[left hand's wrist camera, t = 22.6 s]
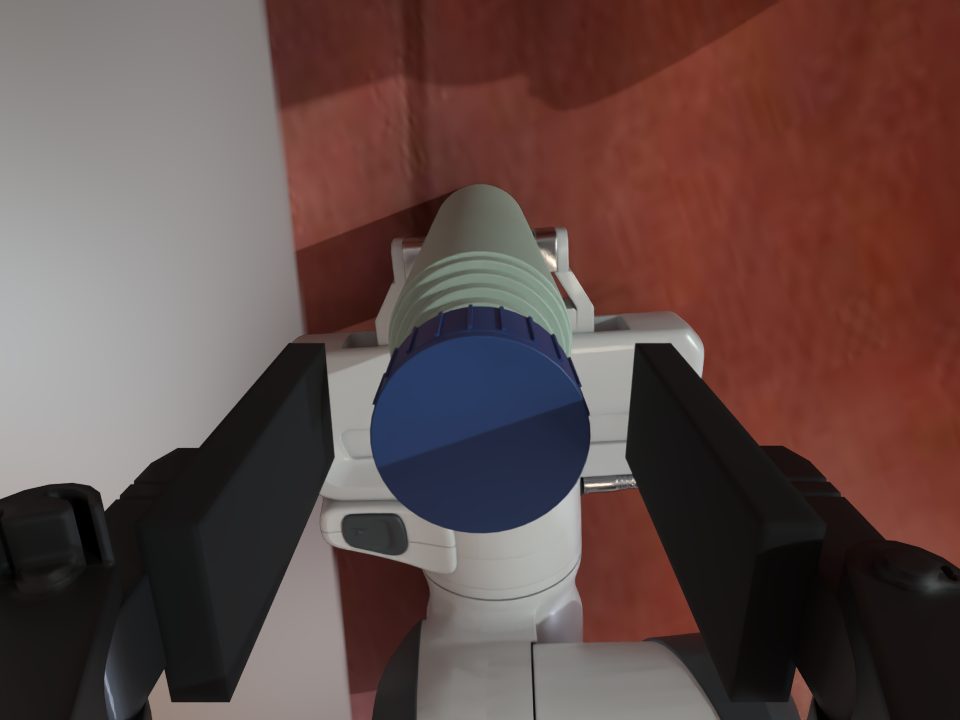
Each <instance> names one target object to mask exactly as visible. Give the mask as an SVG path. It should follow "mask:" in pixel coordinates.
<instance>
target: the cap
mask: <svg viewBox="0 0 960 720" xmlns="http://www.w3.org/2000/svg"><path fill="white" fill-rule="evenodd" d="M580 387H582V385H581V382H580V380H579V377H578V375H577V372H576V369H575V367H574V364H573V362H572V359H571V357H568V358H567V356H566V354H565V352H564V350H563V349H562V347H561V346H560V345H559V343H558V341H557V338H556V336H555V335H554V334H552V335H551V334H550V333H549V332H548V331H546V330H545V329H544V328H543V327H541V326H540V325H539V324H537V323H536V322H534V321H533V319H532V317H531V316H528V318H527V317H525V316H523V315H521V314H518V313H516V312H513V311H509V310H506V309H504V307H503V306H500V307H499V308H496V307H487V306H473V304H470V305H469V306H468V307H463V308H459V309H455V310H450V311H448V312H445V313H443V311H441V312H439V313H438V315H437V316H435V317H433V318H432V319H430V320H428V321H426V322H425V323H423V324H422V325H420V326H419V327H418V328H417V327H416V326H415V327H414V328H413V330H412V333H411V334H410V335H409V336H408V337H407V338H406V339H405V340H404V342H403V343H402V344H401V345H400V346H399V348H395V349H394V351H393V354H392V357H391V359H390V362H389V365H388V367H387V370H386V373H384V374H383V377H382V379H381V382H380V384H379V387H378V390H377V392H376V395H375V398H374V400H373V405H375V406H374V410H373V413H372V417H371V426H370V444H371V450H372V456H373V459H374V462H375V465H376V468H377V470H378V472H379V474H380V476H381V478H382V480H383V482H384V483H385V485H386V486H387V488H388V489H389V491H390V492H391V493H392V494H393V495H394V496H395V498H396V499H397V500H398V501H399V502H400V503H401V504H403V505H404V506H405V507H406V508H407V509H408V510H410V511H411V512H413V513H414V514H416V515H417V516H419V517H420V518H422V519H424V520H426V521H428V522H430V523H432V524H435V525H437V526H440V527H442V528H446V529H450V530H454V531H458V532H465V533H483V534H484V533H496V532H502V531H507V530H511V529H515V528H518V527H521V526H524V525H526V524H528V523H530V522H533V521H535V520H537V519H538V518H540V517H542V516H543V515H545V514H547V513H548V512H549V511H551V510H552V509H553V508H555V507H556V506H557V505H558V504H559V503H560V502H561V501H562V500H563V499H564V498H565V497H566V496H567V495H568V494H569V492H570V491H571V490H572V488H573V487H574V486H575V484H576V483H577V481H578V479H579V477H580V476H581V474H582V471H583V469H584V466H585V464H586V461H587V457H588V453H589V449H590V438H591V432H590V421H589V416H590V412H589V409H588V406H587V404H586V401H585V398H584V396H583V393H582V391H581V388H580Z"/></svg>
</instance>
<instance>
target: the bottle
mask: <svg viewBox="0 0 960 720" xmlns="http://www.w3.org/2000/svg"><path fill="white" fill-rule="evenodd" d="M470 304H473V306H487V307H496V308H499V307H500V306H503V307H504V309H506V310H509V311H513V312H516V313H518V314H521V315H523V316H525V317H527V318H528V316H531V317H532V319H533V321H534V322H536V323H537V324H539V325H540V326H541V327H543V328H544V329H545V330H546V331H548V332H549V333H550V334H551V335H552V334H554V335H555V336H556V338H557V341H558V343H559V345H560V346H561V347H562V349H563V350H564V352H565V354H566V356H567V358H568V357H570V354H571V349H572V328H571V322H570V318H569V313H568V311H567V308H566V306H565V303H564V301H563V299H562V297H561V294H560V292H559V290H558V288H557V286H556V284H555V281H554V279H553V277H552V275H551V273H550V271H549V268H548V266H547V264H546V262H545V260H544V258H543V256H542V253H541V251H540V249H539V247H538V245H537V243H536V240H535V238H534V236H533V234H532V232H531V230H530V227H529V225H528V223H527V221H526V219H525V217H524V215H523V212H522V210H521V208H520V207H519V205H518V204H517V202H516V201H515V200H514V199H513V198H512V197H511V196H510V195H509V194H508V193H506V192H505V191H503V190H501V189H499V188H497V187H494V186H491V185H484V184H476V185H470V186H466V187H463V188H461V189H459V190H457V191H455V192H454V193H453V194H451V195H450V196H449V197H448V198H447V199H446V200H445V201H444V203H443V204H442V205H441V207H440V209H439V211H438V213H437V215H436V217H435V219H434V221H433V224H432V226H431V228H430V230H429V232H428V234H427V237H426V239H425V241H424V243H423V245H422V247H421V250H420V252H419V254H418V256H417V258H416V260H415V263H414V265H413V267H412V269H411V271H410V274H409V276H408V278H407V280H406V282H405V284H404V287H403V289H402V291H401V293H400V295H399V297H398V300H397V302H396V304H395V307H394V309H393V312H392V315H391V319H390V324H389V333H388V344H389V352H390V358H391V357H392V354H393V351H394V349H395V348H399V346H400V345H401V344H402V343H403V342H404V340H405V339H406V338H407V337H408V336H409V335H410V334H411V333H412V330H413V328H414V327H415V326H416V327H417V328H418V327H419V326H420V325H422V324H423V323H425V322H426V321H428V320H430V319H432V318H433V317H435V316H437V315H438V313H439V312H441V311H443V313H445V312H448V311H450V310H455V309H459V308H463V307H468V306H469V305H470Z"/></svg>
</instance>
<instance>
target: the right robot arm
mask: <svg viewBox="0 0 960 720" xmlns="http://www.w3.org/2000/svg"><path fill="white" fill-rule="evenodd" d="M532 234H533V236H534V238H535V240H536V243H537V245H538V247H539V249H540V251H541V253H542V256H543V258H544V260H545V262H546V264H547V266H548V268H549V271H550V272H554V273H555V275H556V276H557V278H558V279H559V281H560V282H561V284H562V286H563V287H564V289H565V290H566V292H567V293H568V295H569V297H570V298H571V299H570V298H569V297H562V299H563V301H564V303H565V306H566V308H567V311H568V313H569V318H570V322H571V328H572V349H571V354H570V357H571V359H572V362H573V364H574V367H575V369H576V372H577V375H578V377H579V380H580V382H581V385H582V387H580V388H581V391H582V393H583V396H584V398H585V401H586V404H587V406H588V409H589V412H590V416H589V421H590V432H591V438H590V449H589V453H588V457H587V461H586V464H585V466H584V469H583V471H582V474H581V476H580V477H579V479H578V481H577V483H576V484H575V486H574V487H573V488H572V490H571V491H570V492H569V494H568V495H567V496H566V497H565V498H564V499H563V500H562V501H561V502H560V503H559V504H558V505H557V506H556V507H555V508H553V509H552V510H551V511H549V512H548V513H547V514H545V515H543V516H542V517H540V518H538V519H537V520H535V521H533V522H530V523H528V524H526V525H524V526H521V527H518V528H515V529H511V530H507V531H502V532H496V533H484V534H483V533H465V532H458V531H454V530H450V529H446V528H442V527H440V526H437V525H435V524H432V523H430V522H428V521H426V520H424V519H422V518H420V517H419V516H417V515H416V514H414V513H413V512H411V511H410V510H408V509H407V508H406V507H405V506H404V505H403V504H401V503H400V502H399V501H398V500H397V499H396V498H395V496H394V495H393V494H392V493H391V492H390V491H389V489H388V488H387V486H386V485H385V483H384V482H383V480H382V478H381V476H380V474H379V472H378V470H377V468H376V465H375V462H374V459H373V456H372V450H371V444H370V426H371V417H372V413H373V410H374V406H375V405H373V400H374V398H375V395H376V392H377V390H378V387H379V384H380V382H381V379H382V377H383V374H384V373H386V370H387V367H388V365H389V362H390V359H391V358H390V352H389V344H388V333H389V324H390V319H391V315H392V312H393V309H394V307H395V304H396V302H397V300H398V297H399V295H400V293H401V291H402V289H403V287H404V284H405V282H406V280H407V278H408V276H409V274H410V271H411V269H412V267H413V265H414V263H415V260H416V258H417V256H418V254H419V252H420V250H421V247H422V245H423V243H424V241H425V239H426V237H425V236H422V237H402V238H394V239H393V241H392V242H391V255H392V263H393V272H394V281H393V282H392V285H391V287H390V289H389V291H388V293H387V296H386V298H385V300H384V302H383V305H382V307H381V309H380V311H379V314H378V316H377V318H376V320H375V325H376V330H372V331H356V332H342V333H327V334H310V335H302V336H300V337H298V338H297V339H295V340H294V341H293V342H292V343H325V350H326V361H327V373H328V384H329V396H330V407H331V419H332V430H333V442H334V453H335V458H334V461H333V463H332V465H331V468H330V470H329V472H328V475H327V477H326V479H325V482H324V484H323V486H322V489H321V491H320V493H319V495H321V496H323V497H324V500H323V504H322V509H321V514H320V529H321V533H322V536H323V538H324V540H325V541H326V542H327V543H328V544H330V545H332V546H335V547H338V548H342V549H346V550H351V551H356V552H361V553H366V554H371V555H375V556H379V557H384V558H388V559H392V560H395V561H399V562H403V563H406V564H409V565H413V566H416V567H419V568H422V570H423V573H424V575H425V577H426V579H427V582H428V585H429V589H430V598H429V602H428V606H427V619H425V620H422V619H421V620H420V621H419V622H418V623H417V624H416V625H415V626H414V627H413V628H412V629H411V630H410V632H409V633H408V634H407V635H406V637H405V638H404V640H403V641H402V643H401V644H400V645H399V647H398V648H397V650H396V651H395V653H394V654H393V656H392V657H391V659H390V660H389V662H388V663H387V665H386V667H385V670H384V672H383V674H382V677H381V679H380V682H379V686H378V689H377V693H376V697H375V703H374V709H373V716H372V720H801V719H800V716H799V713H798V710H797V707H796V704H795V702H794V700H793V697H792V695H791V693H790V697H789V702H730V700H729V698H728V695H727V693H726V691H725V688H724V686H723V684H722V681H721V679H720V677H719V674H718V672H717V670H716V668H715V665H714V663H713V661H712V658H711V656H710V654H709V651H708V649H707V647H706V644H705V642H704V640H703V637H702V635H701V633H691V634H682V635H673V636H664V637H654V638H648V639H645V640H643V641H641V642H586V643H583V612H582V603H581V599H580V596H579V593H578V590H577V588H576V585H575V577H576V574H577V571H578V568H579V565H580V560H581V553H582V548H581V547H582V540H581V499H580V496H582V494H588V493H605V492H615V491H620V490H622V489H623V490H626V489H632V488H633V489H638V486H637V484H636V482H635V479H634V477H633V475H632V472H631V470H630V468H629V465H628V463H627V461H626V458H625V453H626V442H627V430H628V419H629V407H630V396H631V384H632V373H633V361H634V350H635V343H671V344H672V345H673V346H674V347H675V348H676V349H677V351H678V352H679V353H680V354H681V355H682V356H683V358H684V359H685V360H686V361H687V362H688V363H689V365H690V366H691V367H692V368H693V369H694V370H695V372H696V373H697V374H698V375H699V376H700V377H701V378H702V370H703V361H704V347H703V343H702V341H701V339H700V338H699V336H698V335H697V334H696V332H695V331H694V330H693V329H692V328H691V327H690V325H688V324H687V323H686V322H685V321H684V320H683V319H681V318H680V317H679V316H678V315H677V314H675V313H673V312H670V311H659V312H643V313H628V314H613V315H598V316H594V306H593V305H592V303H591V301H590V300H589V298H588V296H587V295H586V293H585V292H584V290H583V288H582V287H581V285H580V284H579V282H578V280H577V279H576V277H575V276H574V274H573V272H572V271H571V269H570V268H569V262H568V236H567V230H566V229H565V227H564V226H561V227H547V228H536V229H532Z"/></svg>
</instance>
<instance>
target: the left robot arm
mask: <svg viewBox="0 0 960 720" xmlns="http://www.w3.org/2000/svg"><path fill="white" fill-rule="evenodd" d="M334 458H335V453H334V442H333V430H332V419H331V407H330V396H329V384H328V373H327V361H326V350H325V343H289V344H288V345H287V346H286V347H285V348H284V349H283V351H282V352H281V353H280V354H279V355H278V356H277V358H276V359H275V360H274V361H273V362H272V363H271V365H270V366H269V367H268V368H267V369H266V370H265V372H264V373H263V374H262V375H261V376H260V377H259V379H258V380H257V381H256V382H255V383H254V384H253V386H252V387H251V388H250V389H249V390H248V391H247V393H246V394H245V395H244V396H243V397H242V398H241V400H240V401H239V402H238V403H237V404H236V405H235V407H234V408H233V409H232V410H231V411H230V412H229V413H228V415H227V416H226V417H225V418H224V419H223V420H222V422H221V423H220V424H219V425H218V426H217V427H216V429H215V430H214V431H213V432H212V433H211V434H210V436H209V437H208V438H207V439H206V440H205V441H204V443H203V444H202V445H201V446H200V447H199V448H177V449H175V450H173V451H172V452H170V453H168V454H166V455H165V456H163V457H161V458H159V459H158V460H156V461H154V462H152V463H151V464H150V465H149V466H148V467H147V468H146V469H145V470H144V471H143V472H142V473H141V474H140V475H139V476H138V477H137V478H136V479H135V480H134V484H131V485H130V486H129V487H128V488H127V489H126V490H125V491H124V492H123V493H122V494H121V495H120V499H117V500H115V501H114V502H113V503H112V504H111V505H110V507H109V508H108V509H107V510H106V511H105V512H104V508H103V503H102V499H101V495H100V492H98V491H97V490H95V489H94V488H93V487H91V486H88V485H83V484H76V483H64V484H50V485H45V486H41V487H36V488H32V489H27V490H24V491H21V492H18V493H16V494H13V495H10V496H8V497H5V498H2V499H0V720H152V715H151V709H150V705H149V701H148V696H149V694H150V693H151V691H152V689H153V687H154V686H155V684H156V682H157V681H158V679H159V677H160V675H161V674H162V672H163V670H165V674H166V679H167V683H168V688H169V693H170V697H171V701H172V702H230V700H231V698H232V695H233V693H234V691H235V688H236V686H237V684H238V681H239V679H240V677H241V674H242V672H243V670H244V668H245V665H246V663H247V661H248V658H249V656H250V654H251V651H252V649H253V647H254V644H255V642H256V640H257V637H258V635H259V633H260V630H261V628H262V626H263V623H264V621H265V619H266V616H267V614H268V612H269V609H270V607H271V605H272V602H273V600H274V598H275V595H276V593H277V591H278V588H279V586H280V584H281V582H282V579H283V577H284V575H285V572H286V570H287V568H288V565H289V563H290V561H291V558H292V556H293V554H294V551H295V549H296V547H297V544H298V542H299V540H300V537H301V535H302V533H303V530H304V528H305V526H306V523H307V521H308V519H309V516H310V514H311V512H312V510H313V507H314V505H315V503H316V500H317V498H318V496H319V493H320V491H321V489H322V486H323V484H324V482H325V479H326V477H327V475H328V472H329V470H330V468H331V465H332V463H333V461H334ZM625 458H626V461H627V463H628V465H629V468H630V470H631V472H632V475H633V477H634V479H635V482H636V484H637V486H638V489H639V491H640V493H641V496H642V498H643V500H644V503H645V505H646V507H647V510H648V512H649V514H650V517H651V519H652V521H653V524H654V526H655V528H656V530H657V533H658V535H659V537H660V540H661V542H662V544H663V547H664V549H665V551H666V554H667V556H668V558H669V561H670V563H671V565H672V568H673V570H674V572H675V575H676V577H677V579H678V582H679V584H680V586H681V589H682V591H683V593H684V596H685V598H686V600H687V602H688V605H689V607H690V609H691V612H692V614H693V616H694V619H695V621H696V623H697V626H698V628H699V630H700V633H701V635H702V637H703V640H704V642H705V644H706V647H707V649H708V651H709V654H710V656H711V658H712V661H713V663H714V665H715V668H716V670H717V672H718V674H719V677H720V679H721V681H722V684H723V686H724V688H725V691H726V693H727V695H728V698H729V700H730V702H789V697H790V693H791V688H792V683H793V679H794V674H795V669H796V667H797V668H798V670H799V672H800V674H801V675H802V677H803V679H804V681H805V682H806V684H807V686H808V687H809V689H810V691H811V693H812V694H813V696H812V701H811V705H810V709H809V714H808V718H807V720H960V569H959V568H958V567H956V566H955V565H953V564H952V563H950V562H949V561H947V560H946V559H944V558H943V557H940V556H938V555H936V554H934V553H931V552H929V551H927V550H924V549H922V548H920V547H916V546H913V545H909V544H905V543H901V542H897V541H890V540H885V539H884V537H883V536H882V535H881V534H880V533H879V532H878V531H877V530H876V529H875V528H874V527H873V526H872V525H871V524H870V523H869V522H868V521H867V520H866V519H865V518H864V517H863V516H862V515H861V514H860V513H859V512H858V511H857V510H856V509H855V508H854V506H853V505H852V504H851V503H850V502H849V501H848V500H847V499H846V498H845V497H841V493H840V492H839V491H838V490H837V489H836V488H835V487H834V486H833V485H832V484H831V483H830V482H827V481H826V478H825V477H824V475H823V474H822V473H821V472H820V471H819V470H818V469H817V468H816V467H815V466H814V465H813V464H812V463H811V462H810V461H809V460H807V459H805V458H803V457H802V456H800V455H798V454H796V453H794V452H793V451H791V450H789V449H787V448H786V447H784V446H759V445H758V444H757V443H756V441H755V440H754V439H753V438H752V437H751V436H750V434H749V433H748V432H747V431H746V430H745V429H744V427H743V426H742V425H741V424H740V423H739V422H738V420H737V419H736V418H735V417H734V416H733V415H732V413H731V412H730V411H729V410H728V409H727V408H726V406H725V405H724V404H723V403H722V402H721V401H720V399H719V398H718V397H717V396H716V395H715V394H714V392H713V391H712V390H711V389H710V388H709V387H708V386H707V384H706V383H705V382H704V381H703V380H702V379H701V377H700V376H699V375H698V374H697V373H696V372H695V370H694V369H693V368H692V367H691V366H690V365H689V363H688V362H687V361H686V360H685V359H684V358H683V356H682V355H681V354H680V353H679V352H678V351H677V349H676V348H675V347H674V346H673V345H672V344H671V343H635V350H634V361H633V373H632V384H631V396H630V407H629V419H628V430H627V442H626V453H625Z"/></svg>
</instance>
